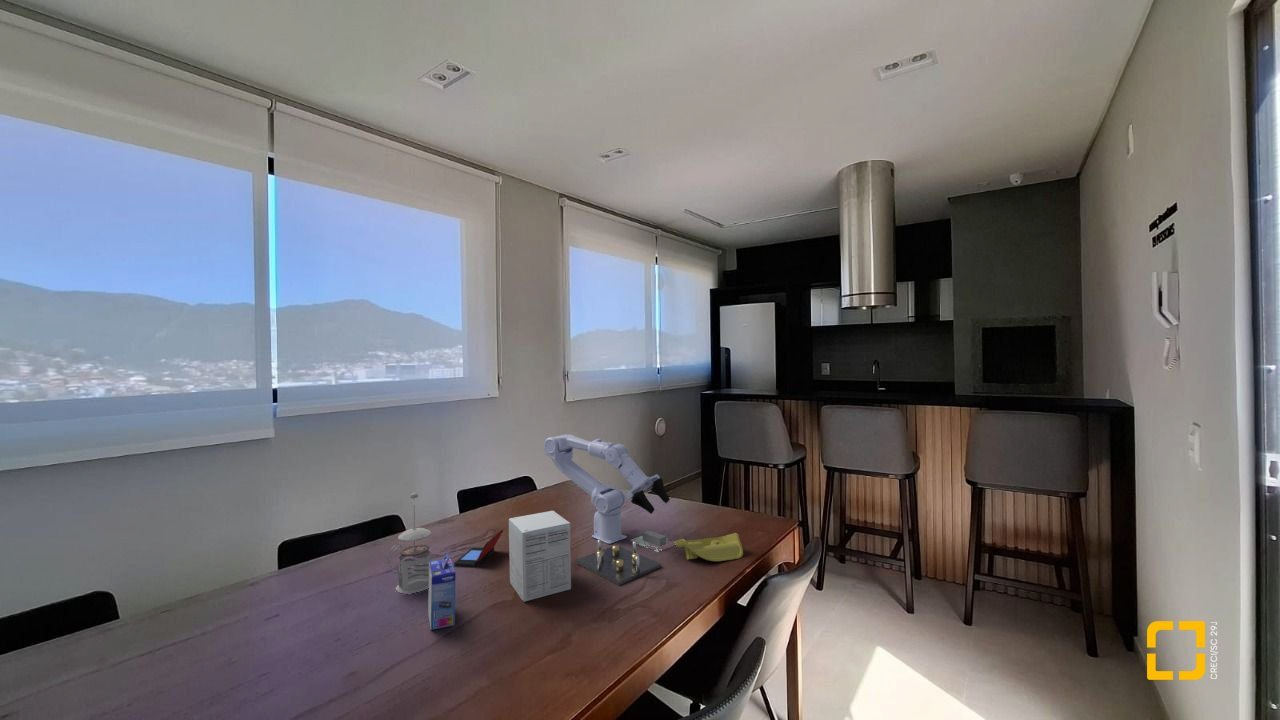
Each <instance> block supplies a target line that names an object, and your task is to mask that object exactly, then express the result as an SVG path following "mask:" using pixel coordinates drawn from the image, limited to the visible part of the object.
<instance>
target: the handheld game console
mask: <svg viewBox="0 0 1280 720" xmlns="http://www.w3.org/2000/svg"><path fill="white" fill-rule="evenodd" d="M503 531H504V530H503V529H501V530H500V531H499V532H497V533H496V534H495V535H494V536H493V537H492V538H491V539H489V540H488V541H487V542H486V543H485V544H484V546H483V547H472V548H470V549H469V550H467V552H465V553H464V554H462V555H461V556H460V557H459V558H458V559H456V561H454V562H453V565H454V567H456V566H461V568H462V567H463V568H478V567H479V566H478V565H480V564H482V563H483V562H484V559H486V558H488V557H489V556H490V555H492V552H493V551H495V546H496V544H497V542H498V541H499V539H500V538H501V536H502V534H503ZM493 553H494V552H493ZM487 556H488V557H487ZM482 561H483V562H482Z"/></svg>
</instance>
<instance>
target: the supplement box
mask: <svg viewBox="0 0 1280 720" xmlns="http://www.w3.org/2000/svg"><path fill="white" fill-rule="evenodd" d="M508 544H509V583H510V584H511V586H512V588H513V589H514V591H515V592H516V593H517V596H519V597H520V599H521V600H522V601H523V602H524V603H525V602H529V601H532V600H536V599H539V598H542V597H546V596H549V595H555V594H557V593H562V592H564V591H565V592H567V591H569V590H571V589H572V571H571V570H572V568H571V567H572V562H571V561H572V560H571V554H572V553H571V522H570V521H568V520H566V519H565V518H564V517H563V516H561V515H560V514H559V513H557V512H556V511H554V510H550V511H549V510H548V511H543V512H538V513H533V514H527V515H521V516H515V517H511V518H509V519H508Z"/></svg>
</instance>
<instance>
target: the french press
mask: <svg viewBox="0 0 1280 720" xmlns="http://www.w3.org/2000/svg"><path fill="white" fill-rule="evenodd" d="M409 497H410V499H417V498H418V497H419V495H418V493H417V492H413V493H411V494H410V495H409ZM415 507H416V506H413V527H412V528H410V529H407V530H405V531H403V532H402V533H401V534H399V535H398V536H397V539H398V540H399V541H400V542H404V543H405V542H407V543H408V542H413V545H409V546H408V547H404V548H402V545H401V544H399V543H396V544H395V545H393V546H392V547H391V548H390V549H389V551H388V554H387V556H386V563H387V567H388V568H389V569H390V570H391V571H392V572H394V573H395V574H398V578H397V579H398V585H397V586H396V587H395V589H396V590H397V591H398V592H400V593H415V592H419V591H423V590H425V589H427V588H429V562H430V561H431V551H430V550H429V549H430V546H429V545H426V544H416V541H421V540H423V539H427V538H428V537H430V535H431V533H432V532H431V531H430V530H429V529H428V528H423V527H416V522H415V519H416V518H415V515H416V514H415V513H416V512H415ZM395 546H397V547H395ZM397 549H398V550H399V551H400V552H399V554H400V556H398V570H396V569H394V568H393V567H392V564H391V562H392V561H391V559H392V557H393V554H394V552H395V551H396V550H397ZM391 551H392V552H391ZM390 553H391V554H390ZM389 556H390V557H389ZM406 557H413V558H406ZM414 558H418V559H414ZM419 558H420V559H419ZM403 559H404V560H403ZM427 590H428V589H427ZM425 591H426V590H425ZM423 592H424V591H423ZM419 593H420V592H419ZM415 594H416V593H415Z"/></svg>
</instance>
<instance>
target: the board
mask: <svg viewBox="0 0 1280 720" xmlns="http://www.w3.org/2000/svg"><path fill="white" fill-rule="evenodd" d="M634 539H636V540H635V541H636V542H639V546H641V547H643V546H644V547H643V548H646V549H648V547H645V546H647V545H648V546H650V545H649V544H648V542H649V543H652V544H654V545H657V546H662V545H665V544H666V539H667V536H666V535H664V534H661V533H658V532H655V531H652V530H646V531H643V532H642V535H641V536H638V537H635V538H633V539H631V540H634ZM644 542H645V544H646V545H645V544H644ZM636 545H638V543H636ZM651 547H655V546H651ZM655 548H656V550H654V552H656V553H658V552H659V551H658V549H657V548H658V547H655ZM659 550H661V551H662V549H659ZM662 552H663V551H662ZM659 553H660V552H659Z"/></svg>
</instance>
